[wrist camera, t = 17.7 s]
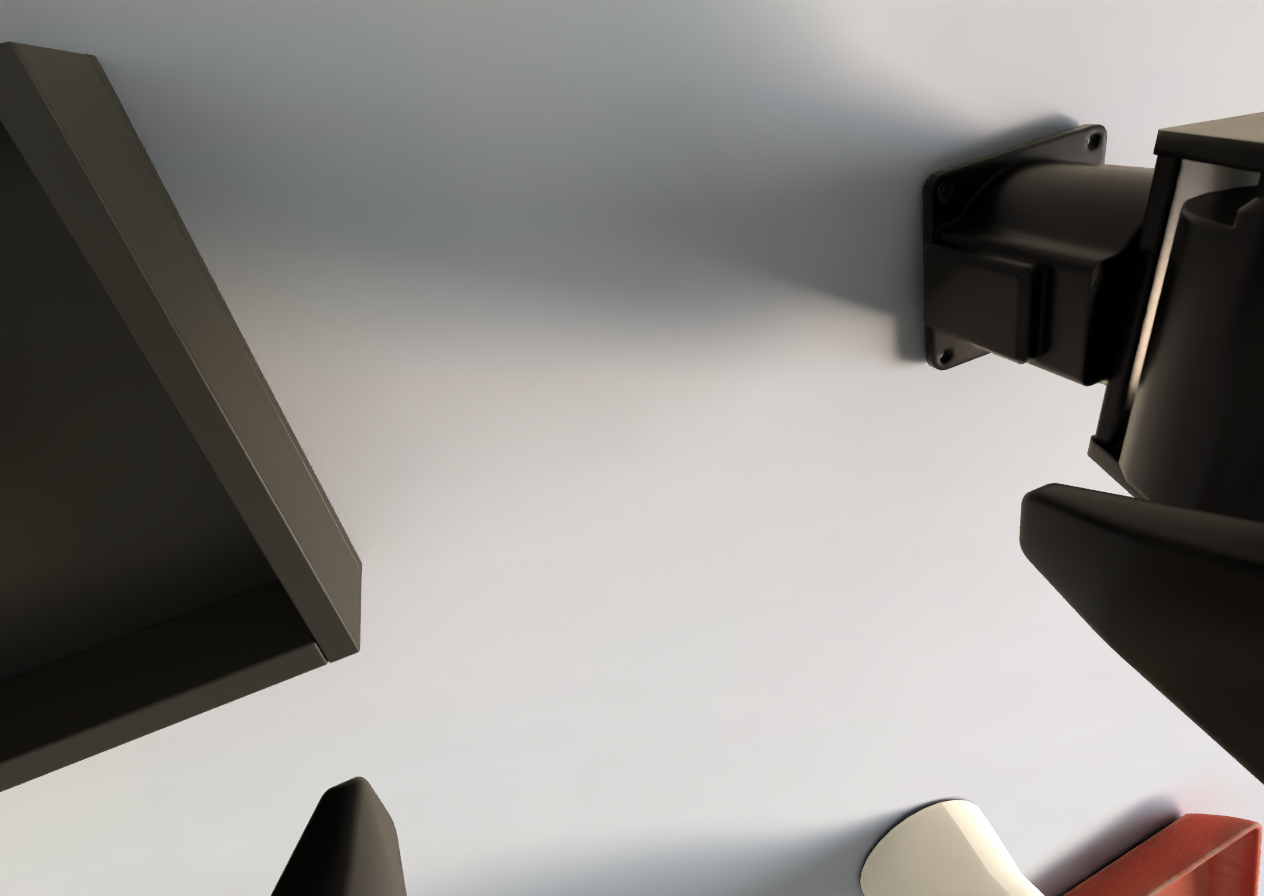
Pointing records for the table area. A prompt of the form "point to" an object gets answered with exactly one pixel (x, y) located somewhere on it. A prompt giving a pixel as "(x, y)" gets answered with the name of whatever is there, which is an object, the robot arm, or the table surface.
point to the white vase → (943, 857)
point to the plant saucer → (1186, 861)
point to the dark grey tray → (135, 452)
